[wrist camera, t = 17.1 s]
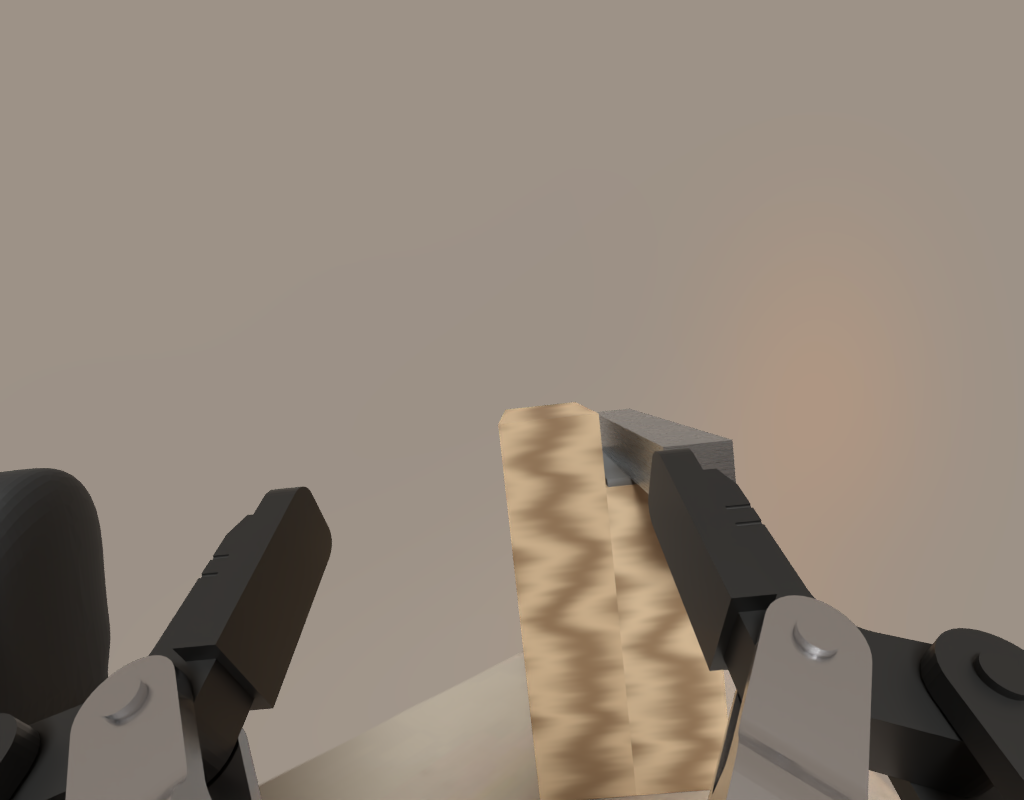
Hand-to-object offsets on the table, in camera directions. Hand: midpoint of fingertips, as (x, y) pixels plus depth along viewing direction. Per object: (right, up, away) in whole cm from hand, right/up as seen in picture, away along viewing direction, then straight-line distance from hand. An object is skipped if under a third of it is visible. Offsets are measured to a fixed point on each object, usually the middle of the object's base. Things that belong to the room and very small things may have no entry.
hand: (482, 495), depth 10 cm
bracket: (+11, -30, +33) cm, 46 cm away
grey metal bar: (+12, -4, +27) cm, 30 cm away
